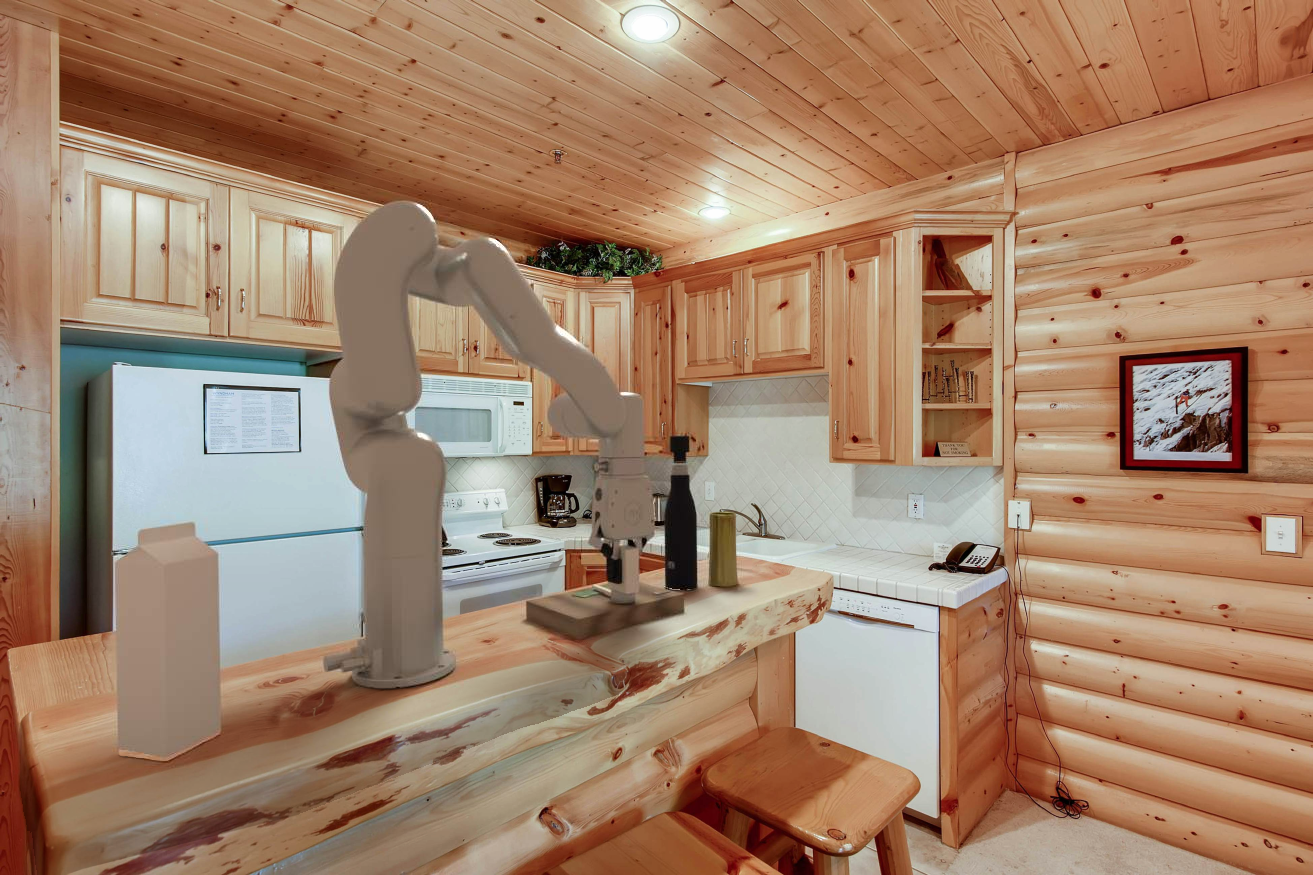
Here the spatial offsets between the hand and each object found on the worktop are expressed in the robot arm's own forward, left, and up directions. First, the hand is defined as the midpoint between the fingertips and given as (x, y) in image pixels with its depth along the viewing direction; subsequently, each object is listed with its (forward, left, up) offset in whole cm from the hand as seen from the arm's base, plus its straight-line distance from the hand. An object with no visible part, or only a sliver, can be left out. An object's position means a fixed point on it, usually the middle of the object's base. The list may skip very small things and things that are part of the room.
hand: (623, 579), depth 107 cm
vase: (+31, +6, -7) cm, 32 cm away
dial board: (0, +4, -7) cm, 8 cm away
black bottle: (+23, +10, -7) cm, 26 cm away
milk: (-60, -2, -7) cm, 60 cm away
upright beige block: (+1, +3, -3) cm, 5 cm away
